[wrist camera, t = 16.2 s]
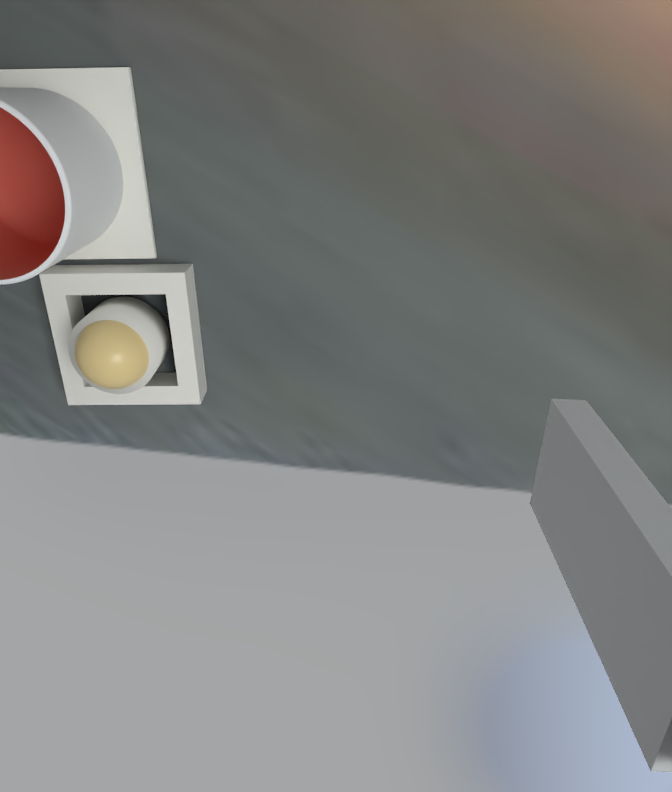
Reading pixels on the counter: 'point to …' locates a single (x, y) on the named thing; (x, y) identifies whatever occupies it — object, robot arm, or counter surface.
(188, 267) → the dome base
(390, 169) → the counter surface
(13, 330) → the counter surface
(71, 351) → the dome
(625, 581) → the robot arm
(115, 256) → the pad
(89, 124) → the cup
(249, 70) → the counter surface
